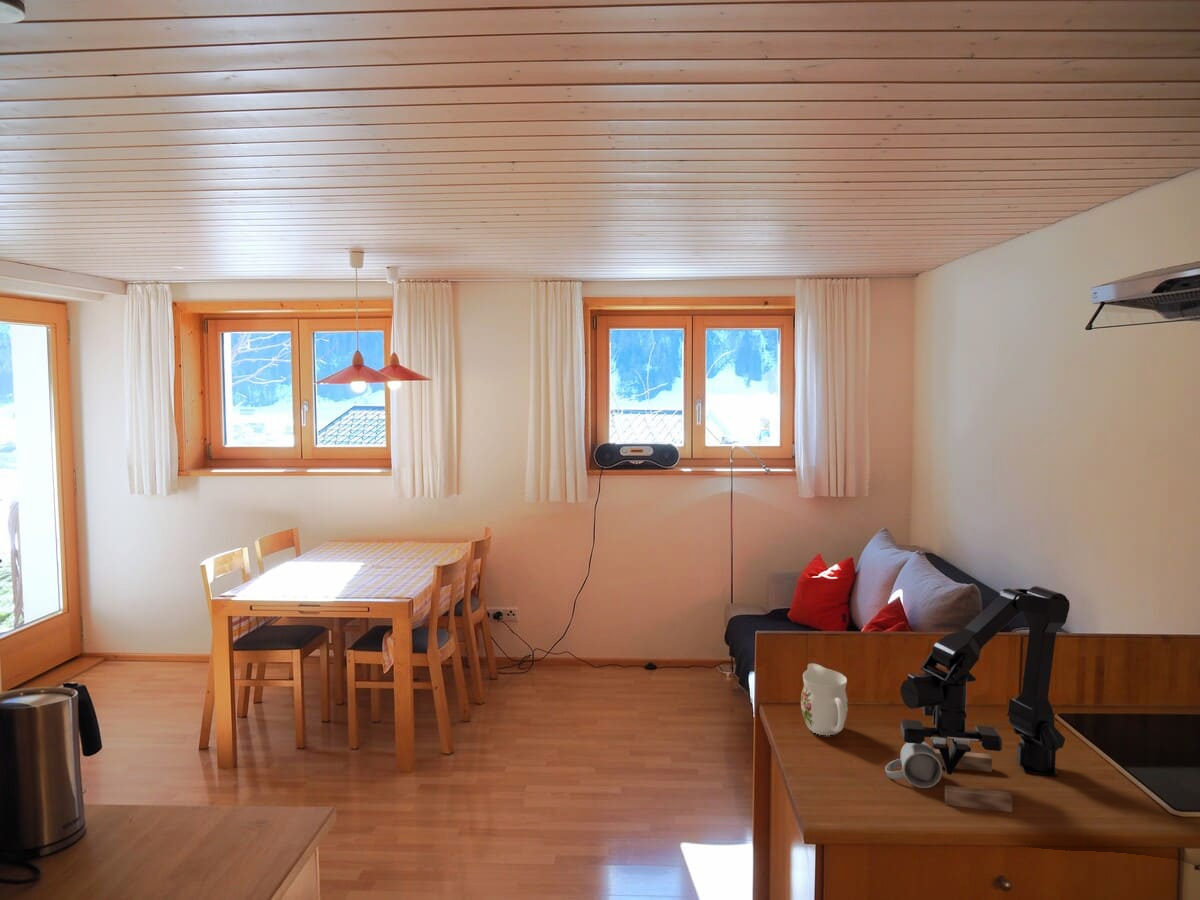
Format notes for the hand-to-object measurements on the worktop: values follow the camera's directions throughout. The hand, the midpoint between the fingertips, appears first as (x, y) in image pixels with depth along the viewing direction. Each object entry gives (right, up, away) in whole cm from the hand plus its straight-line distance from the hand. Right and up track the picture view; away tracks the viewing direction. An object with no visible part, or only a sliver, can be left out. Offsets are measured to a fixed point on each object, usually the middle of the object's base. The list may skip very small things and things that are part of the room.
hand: (948, 773), depth 163 cm
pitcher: (-19, 0, +24) cm, 31 cm away
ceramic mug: (-7, -2, +2) cm, 7 cm away
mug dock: (+4, -2, -1) cm, 4 cm away
